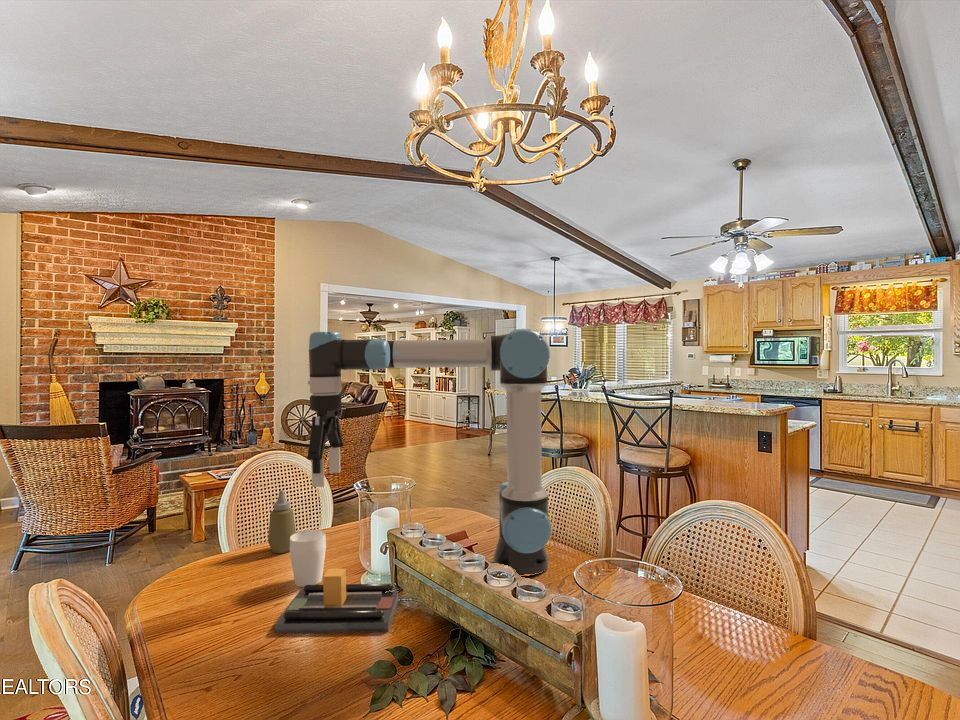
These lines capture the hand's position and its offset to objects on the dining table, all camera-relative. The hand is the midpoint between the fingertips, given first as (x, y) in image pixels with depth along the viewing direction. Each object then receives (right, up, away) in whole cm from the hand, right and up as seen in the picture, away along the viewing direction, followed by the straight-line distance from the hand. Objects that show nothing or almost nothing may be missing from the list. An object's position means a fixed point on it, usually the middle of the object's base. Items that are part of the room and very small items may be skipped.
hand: (326, 479), depth 123 cm
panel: (+7, -28, -10) cm, 31 cm away
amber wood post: (+5, -26, -10) cm, 28 cm away
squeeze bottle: (-22, -28, +27) cm, 44 cm away
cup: (-7, -28, +6) cm, 29 cm away
